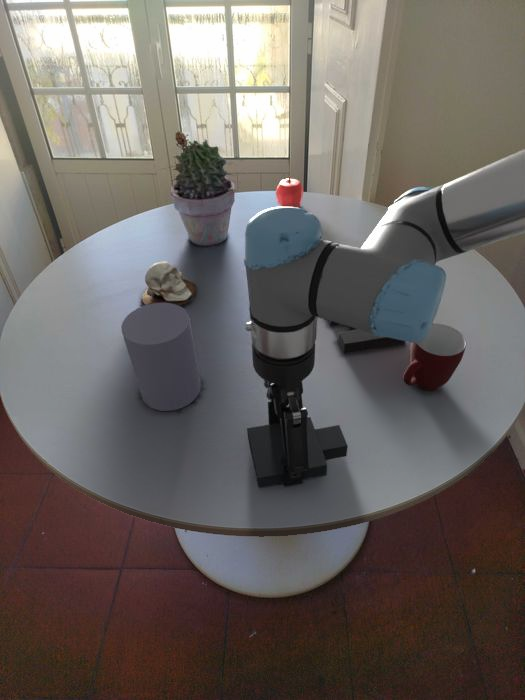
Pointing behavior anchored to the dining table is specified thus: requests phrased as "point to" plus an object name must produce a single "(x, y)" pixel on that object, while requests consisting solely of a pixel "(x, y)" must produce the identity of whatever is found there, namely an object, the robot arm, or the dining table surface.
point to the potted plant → (202, 192)
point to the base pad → (363, 340)
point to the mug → (435, 358)
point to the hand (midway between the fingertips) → (284, 454)
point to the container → (162, 355)
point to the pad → (270, 449)
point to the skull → (167, 285)
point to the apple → (289, 193)
